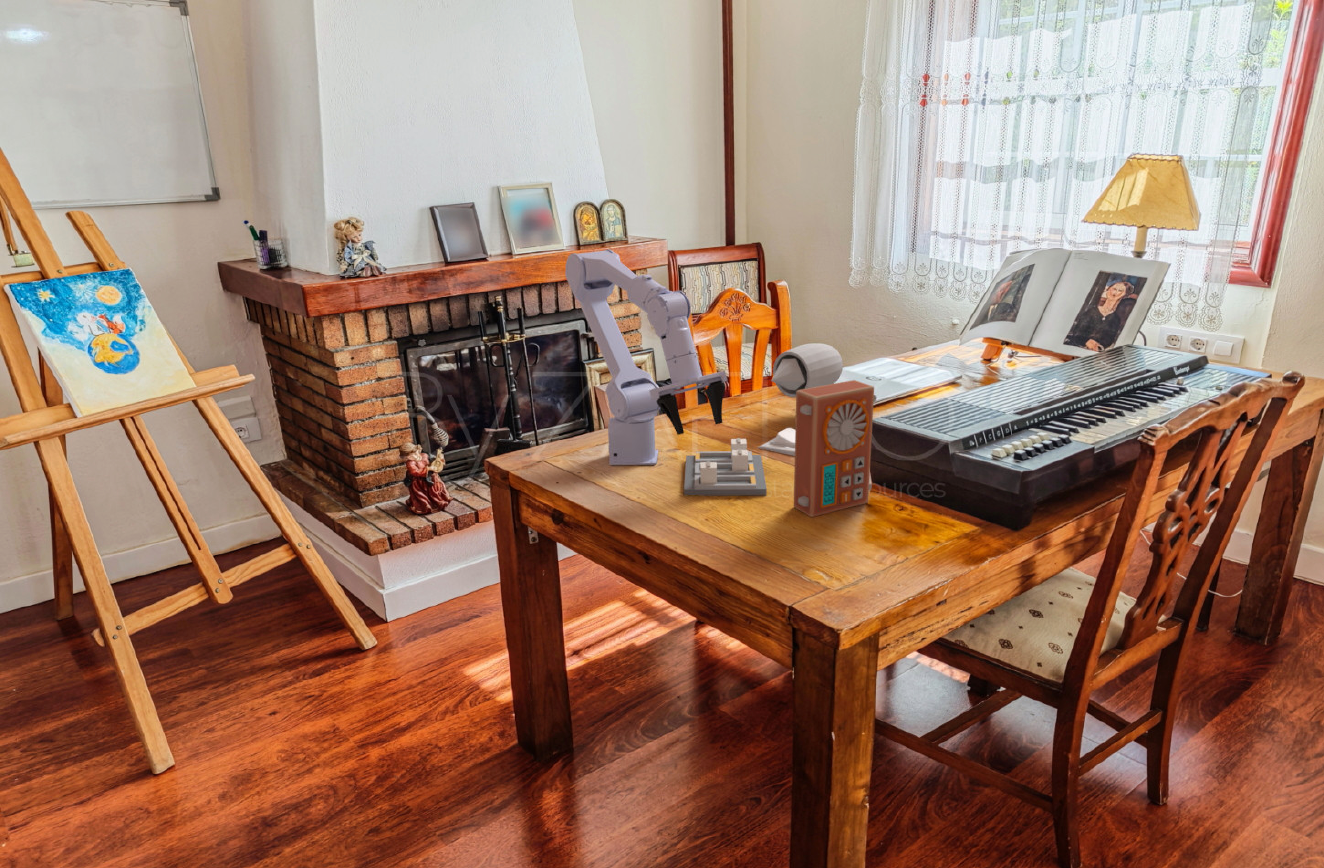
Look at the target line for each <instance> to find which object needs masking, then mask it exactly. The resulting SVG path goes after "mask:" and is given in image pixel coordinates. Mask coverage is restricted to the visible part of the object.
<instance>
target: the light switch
mask: <svg viewBox="0 0 1324 868" xmlns="http://www.w3.org/2000/svg"><path fill="white" fill-rule="evenodd" d="M795 429H796V428H792V427H785V429H783V430H780V431H779V432H778V433H777V434H776V436H775V437H774V438H771V440H768V441H766V442H765V443H763V444H761V445H760V446H758V447H757V449H758V450H759V449H760V450H764V449H766V450H765V451H769V450H770V452H773V451H774V453H780V454H783V455H787V456H793V457H795Z"/></svg>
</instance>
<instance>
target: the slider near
mask: <svg viewBox="0 0 1324 868" xmlns="http://www.w3.org/2000/svg"><path fill="white" fill-rule="evenodd" d="M700 476H701V484H717V462H710V461H707V462H701V463H700Z"/></svg>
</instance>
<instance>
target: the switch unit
mask: <svg viewBox="0 0 1324 868" xmlns="http://www.w3.org/2000/svg"><path fill="white" fill-rule="evenodd" d="M685 458H686V459H685V471H684V472H685V473H684V485H683V495H700V496H767V492H768V491H767V490H768V489H767V484H766V477H765V472H764V466H763V460H762V454H752V450H748V471H732V459H731V450H725V451H720V450H719V451H715V450H714V451H712V450H711V451H709V450H708V451H695V455H691V454H690V455H686V456H685ZM707 461H710V462H717V484H701V476H700V463H701V462H707Z"/></svg>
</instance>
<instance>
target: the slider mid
mask: <svg viewBox="0 0 1324 868" xmlns="http://www.w3.org/2000/svg"><path fill="white" fill-rule="evenodd" d="M748 451H749V450H748V449H747V450H741V449H738V450H732V471H748Z"/></svg>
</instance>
